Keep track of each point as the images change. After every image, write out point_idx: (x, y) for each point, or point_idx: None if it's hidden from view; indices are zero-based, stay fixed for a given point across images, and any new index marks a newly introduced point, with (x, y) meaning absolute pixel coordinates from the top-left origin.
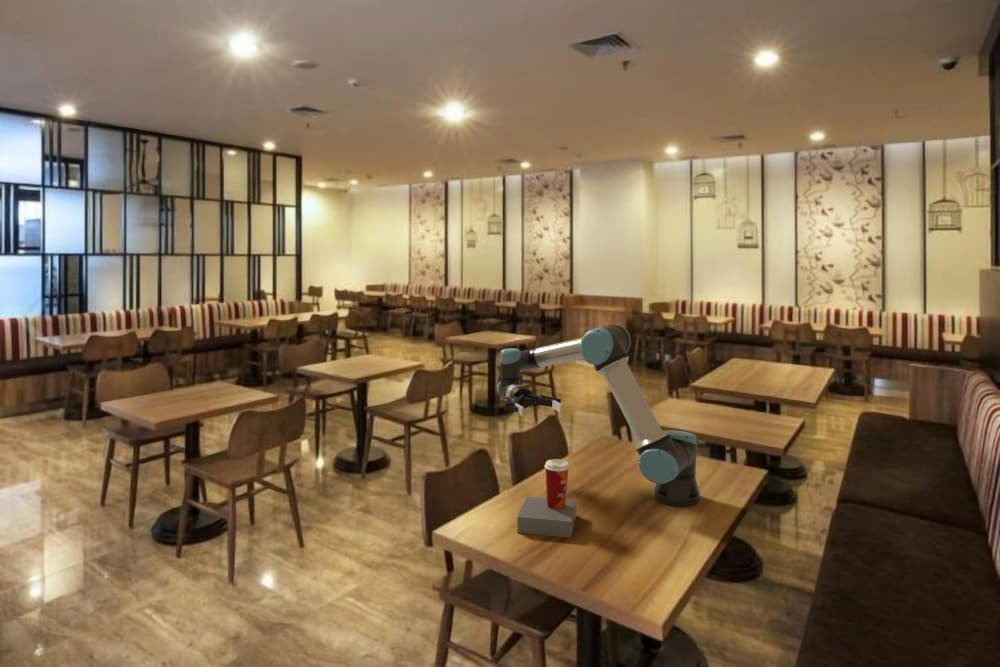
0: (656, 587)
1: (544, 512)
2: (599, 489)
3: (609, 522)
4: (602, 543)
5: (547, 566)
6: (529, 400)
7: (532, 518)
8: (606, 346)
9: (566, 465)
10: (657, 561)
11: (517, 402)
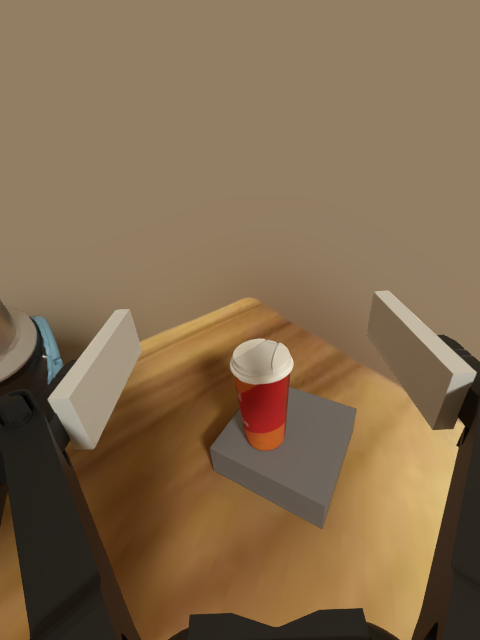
0: (224, 318)
1: (298, 413)
2: None
3: (172, 430)
4: (226, 379)
5: (317, 351)
6: (261, 630)
7: (326, 399)
8: None
9: (244, 342)
10: (191, 343)
11: (467, 462)
